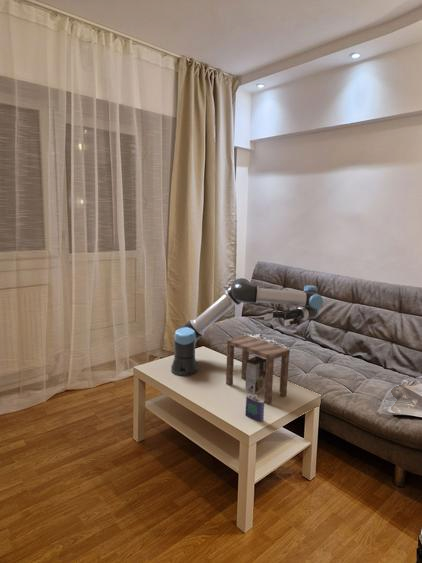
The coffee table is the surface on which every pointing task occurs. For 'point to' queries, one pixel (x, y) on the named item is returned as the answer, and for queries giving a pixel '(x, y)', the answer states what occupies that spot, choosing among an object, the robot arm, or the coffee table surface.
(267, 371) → the wooden stool
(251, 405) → the flask
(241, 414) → the coffee table surface
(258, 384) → the coffee box
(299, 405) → the coffee table surface
